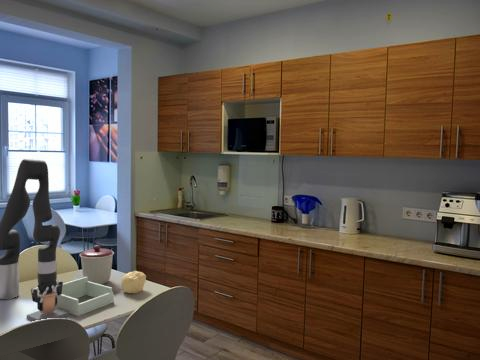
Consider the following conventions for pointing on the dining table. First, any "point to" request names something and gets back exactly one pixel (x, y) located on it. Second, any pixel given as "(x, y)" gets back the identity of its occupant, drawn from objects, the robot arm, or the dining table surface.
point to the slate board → (47, 315)
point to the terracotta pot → (48, 302)
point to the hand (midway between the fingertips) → (47, 307)
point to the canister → (97, 264)
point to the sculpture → (133, 282)
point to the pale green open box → (82, 288)
